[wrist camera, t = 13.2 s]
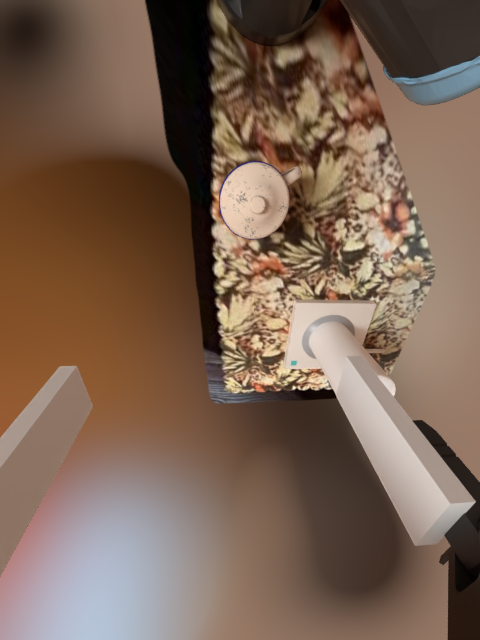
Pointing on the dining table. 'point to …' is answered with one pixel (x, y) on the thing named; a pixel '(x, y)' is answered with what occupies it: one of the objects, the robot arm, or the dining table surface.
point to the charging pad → (317, 313)
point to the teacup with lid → (256, 199)
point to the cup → (341, 353)
